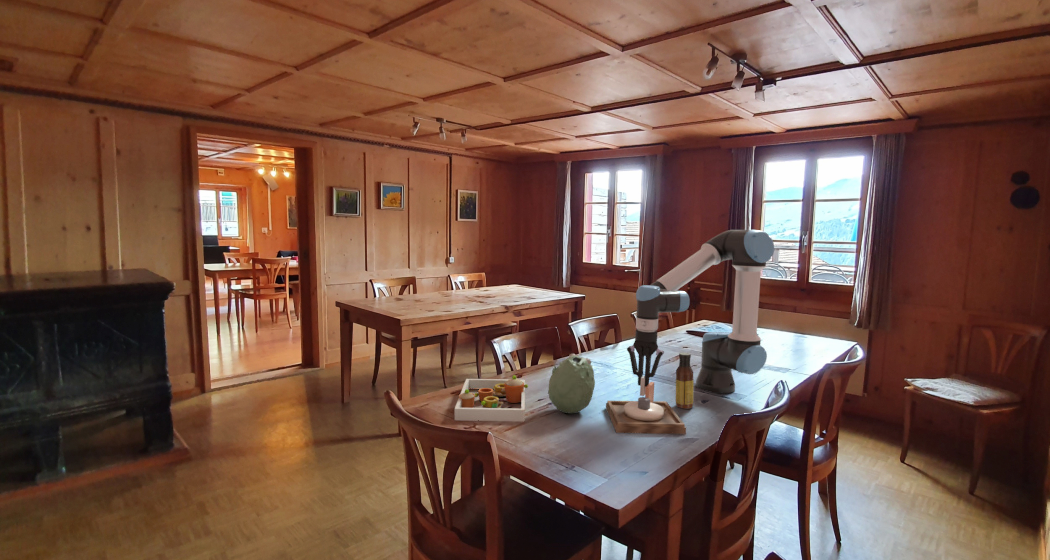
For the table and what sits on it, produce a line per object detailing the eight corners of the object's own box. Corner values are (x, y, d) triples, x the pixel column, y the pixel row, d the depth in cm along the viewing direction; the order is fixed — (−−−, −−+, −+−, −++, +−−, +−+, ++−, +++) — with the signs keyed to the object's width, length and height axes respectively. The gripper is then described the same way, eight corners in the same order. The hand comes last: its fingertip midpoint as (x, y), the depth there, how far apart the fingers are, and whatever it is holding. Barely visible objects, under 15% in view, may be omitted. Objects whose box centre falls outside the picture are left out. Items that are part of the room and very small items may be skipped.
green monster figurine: (538, 415, 176) (539, 358, 174) (562, 399, 192) (564, 347, 190) (580, 425, 168) (581, 365, 166) (601, 408, 184) (603, 353, 182)
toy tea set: (502, 390, 202) (502, 366, 201) (531, 399, 191) (532, 374, 190) (451, 407, 182) (451, 381, 181) (481, 418, 172) (481, 390, 171)
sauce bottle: (693, 405, 189) (695, 352, 187) (692, 410, 183) (695, 356, 181) (674, 402, 191) (677, 350, 189) (673, 408, 185) (676, 354, 183)
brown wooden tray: (666, 409, 184) (667, 401, 184) (685, 434, 162) (686, 424, 162) (605, 408, 184) (606, 400, 184) (616, 432, 162) (617, 423, 162)
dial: (658, 423, 164) (659, 399, 163) (619, 416, 170) (620, 392, 169) (670, 407, 179) (671, 384, 179) (633, 400, 185) (634, 379, 185)
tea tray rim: (524, 389, 204) (524, 379, 203) (524, 421, 170) (524, 409, 170) (466, 388, 204) (466, 378, 203) (454, 420, 170) (454, 408, 170)
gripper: (625, 329, 178) (622, 394, 181) (662, 334, 172) (658, 401, 175) (631, 325, 185) (628, 388, 188) (667, 330, 179) (663, 394, 182)
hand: (642, 394), depth 182 cm, fingers closed
